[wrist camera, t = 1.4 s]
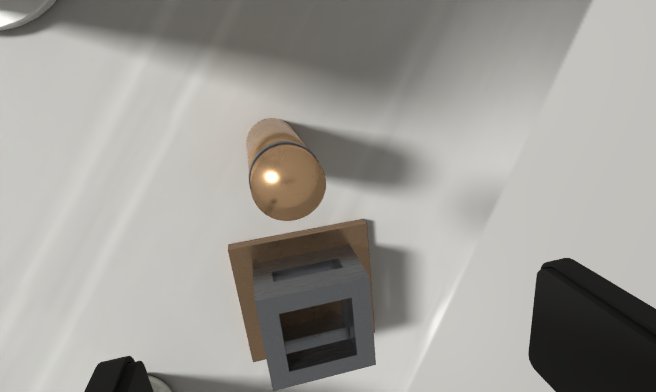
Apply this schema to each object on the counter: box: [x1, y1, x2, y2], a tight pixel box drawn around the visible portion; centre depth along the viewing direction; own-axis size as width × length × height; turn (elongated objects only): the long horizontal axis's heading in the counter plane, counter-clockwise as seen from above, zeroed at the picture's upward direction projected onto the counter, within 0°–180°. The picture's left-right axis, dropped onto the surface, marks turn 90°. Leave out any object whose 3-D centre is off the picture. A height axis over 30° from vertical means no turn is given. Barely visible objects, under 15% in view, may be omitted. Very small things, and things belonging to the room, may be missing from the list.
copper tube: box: [247, 118, 326, 221], centre depth 25 cm, size 4×4×11 cm
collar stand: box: [228, 219, 376, 391], centre depth 33 cm, size 12×12×6 cm
